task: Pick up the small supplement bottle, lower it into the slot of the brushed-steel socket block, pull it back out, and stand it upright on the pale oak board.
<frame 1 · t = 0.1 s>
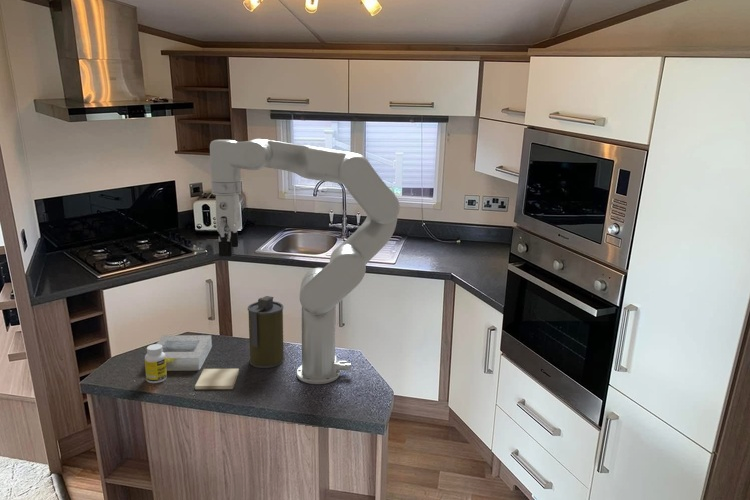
hand: (228, 251, 145), 37 cm above the worktop, tool pointing down, fingers open, 9 cm apart
supplement bottle: (156, 379, 151), on the worktop
socket block: (180, 358, 164), on the worktop
oak board: (217, 380, 151), on the worktop
canister: (266, 361, 164), on the worktop
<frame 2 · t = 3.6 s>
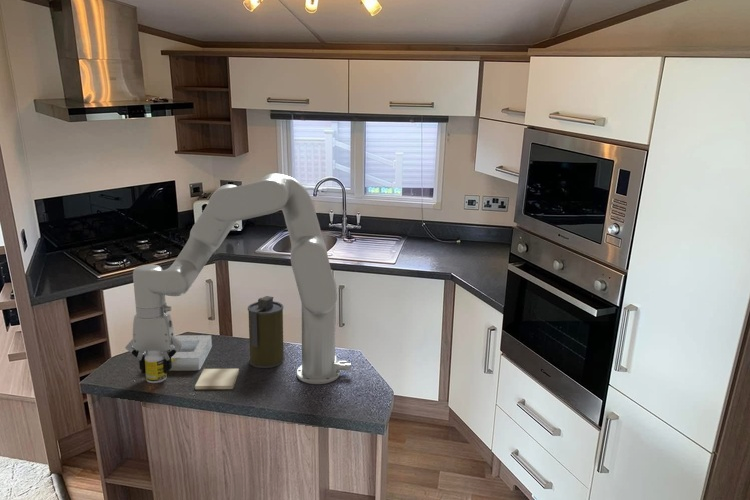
hand: (156, 370, 150), 3 cm above the worktop, tool pointing down, fingers closed on supplement bottle, 5 cm apart
supplement bottle: (156, 379, 151), on the worktop, touching gripper
everything else where it was.
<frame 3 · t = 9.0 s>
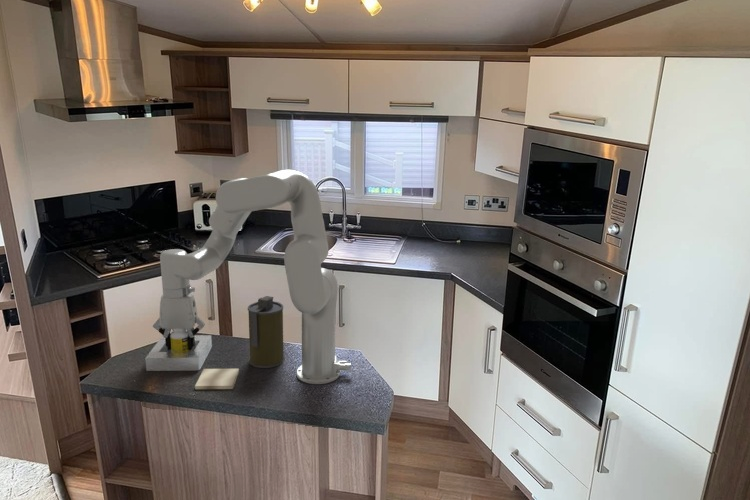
hand: (180, 347, 163), 4 cm above the worktop, tool pointing down, fingers closed on supplement bottle, 5 cm apart
supplement bottle: (181, 356, 163), point 1 cm above the worktop, touching gripper
everything else where it was.
when the fingers open (5 cm above the worktop, at t = 14.8 s): supplement bottle drops 1 cm, resting on oak board.
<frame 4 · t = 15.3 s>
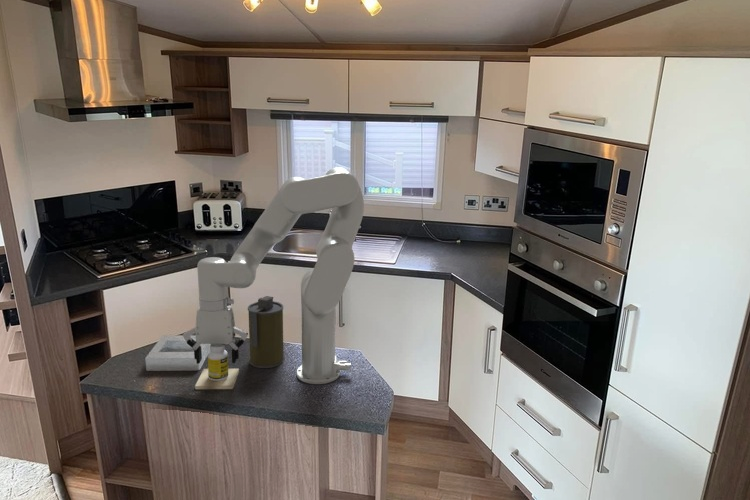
hand: (216, 361, 150), 6 cm above the worktop, tool pointing down, fingers open, 9 cm apart
supplement bottle: (218, 377, 151), point 1 cm above the worktop, touching oak board
everything else where it was.
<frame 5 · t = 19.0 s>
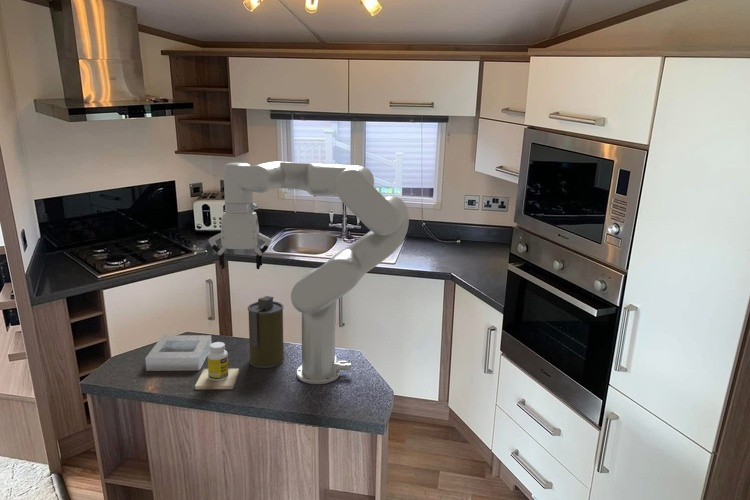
hand: (241, 267, 153), 30 cm above the worktop, tool pointing down, fingers open, 9 cm apart
nothing on the worktop moved.
at the end: supplement bottle 0.3 cm off-centre on the oak board, point 0.8 cm above the oak board's base; supplement bottle tilted 0°; the gripper is holding nothing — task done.
